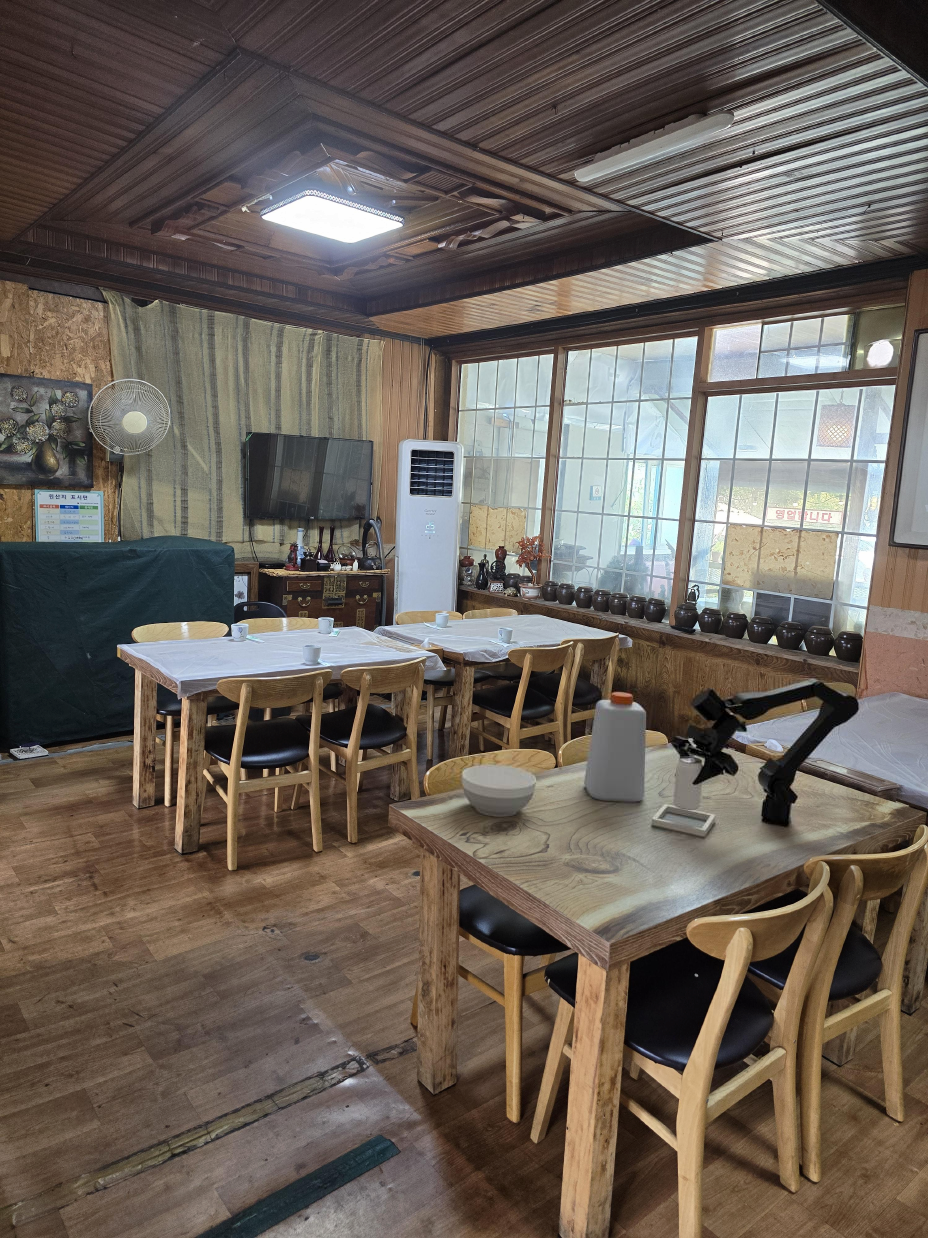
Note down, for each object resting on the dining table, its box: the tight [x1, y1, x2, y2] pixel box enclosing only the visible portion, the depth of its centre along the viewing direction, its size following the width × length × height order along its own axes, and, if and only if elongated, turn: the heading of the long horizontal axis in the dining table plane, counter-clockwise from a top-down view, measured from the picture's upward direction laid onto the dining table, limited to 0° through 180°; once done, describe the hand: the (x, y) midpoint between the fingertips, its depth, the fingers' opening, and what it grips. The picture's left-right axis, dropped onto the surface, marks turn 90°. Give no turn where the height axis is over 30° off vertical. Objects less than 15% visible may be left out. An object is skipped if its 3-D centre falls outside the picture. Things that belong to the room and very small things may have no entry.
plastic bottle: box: [583, 691, 647, 803], centre depth 230 cm, size 15×15×28 cm
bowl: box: [461, 764, 537, 818], centre depth 213 cm, size 19×19×9 cm
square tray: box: [650, 803, 716, 839], centre depth 211 cm, size 13×13×2 cm
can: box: [673, 756, 704, 811], centre depth 210 cm, size 6×6×12 cm
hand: (684, 781), depth 209 cm, fingers closed on can, 5 cm apart
